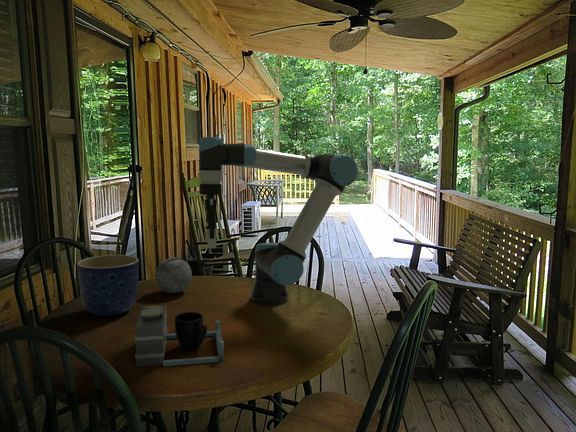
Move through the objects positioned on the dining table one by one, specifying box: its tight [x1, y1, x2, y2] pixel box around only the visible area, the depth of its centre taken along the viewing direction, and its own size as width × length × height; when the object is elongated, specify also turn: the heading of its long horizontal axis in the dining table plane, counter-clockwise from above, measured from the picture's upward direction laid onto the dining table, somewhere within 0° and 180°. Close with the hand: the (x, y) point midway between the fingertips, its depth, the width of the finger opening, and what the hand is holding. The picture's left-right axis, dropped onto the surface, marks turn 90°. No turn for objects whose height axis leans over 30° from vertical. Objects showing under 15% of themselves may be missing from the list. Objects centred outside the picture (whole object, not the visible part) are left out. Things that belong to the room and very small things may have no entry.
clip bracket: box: [162, 320, 225, 367], centre depth 132 cm, size 16×20×5 cm
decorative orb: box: [154, 257, 193, 294], centre depth 186 cm, size 15×14×15 cm
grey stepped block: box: [134, 304, 168, 368], centre depth 129 cm, size 7×18×13 cm, turn 12°
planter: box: [76, 254, 140, 317], centre depth 162 cm, size 21×21×19 cm
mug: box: [174, 311, 208, 352], centre depth 132 cm, size 8×12×10 cm
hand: (211, 244), depth 155 cm, fingers open, 13 cm apart
